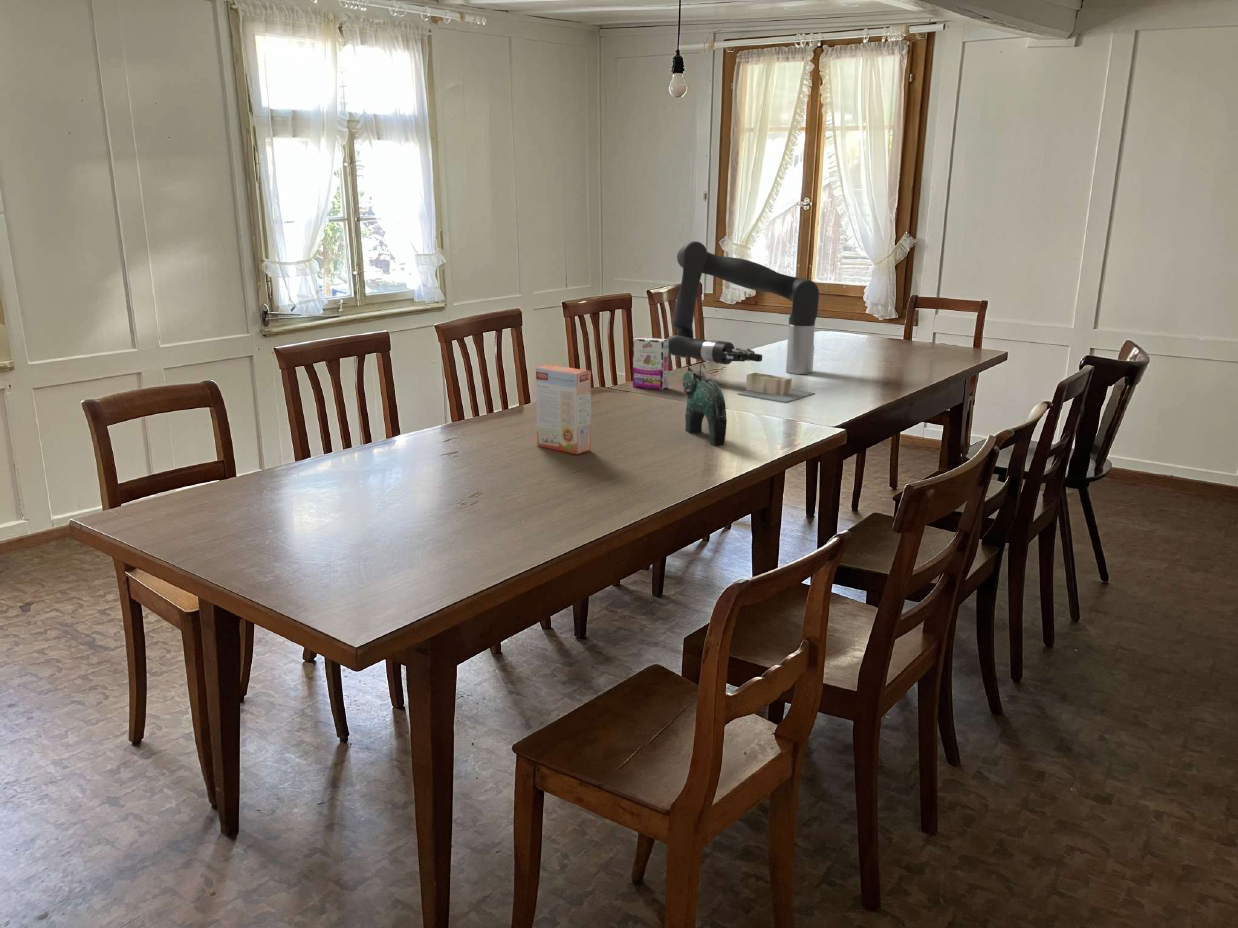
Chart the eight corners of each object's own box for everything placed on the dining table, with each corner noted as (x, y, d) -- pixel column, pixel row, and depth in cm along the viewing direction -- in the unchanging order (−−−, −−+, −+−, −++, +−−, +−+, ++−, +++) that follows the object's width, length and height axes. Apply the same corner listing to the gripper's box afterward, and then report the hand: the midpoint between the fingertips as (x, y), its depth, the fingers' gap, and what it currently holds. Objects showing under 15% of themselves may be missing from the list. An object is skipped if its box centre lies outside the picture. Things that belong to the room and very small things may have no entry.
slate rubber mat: (767, 386, 328) (767, 385, 328) (814, 394, 316) (814, 392, 316) (737, 394, 315) (737, 393, 315) (785, 403, 303) (785, 401, 303)
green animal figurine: (679, 429, 270) (681, 358, 265) (700, 427, 272) (702, 357, 267) (710, 447, 252) (713, 371, 247) (732, 445, 255) (735, 370, 249)
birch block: (755, 372, 322) (791, 378, 313) (754, 387, 324) (790, 393, 315) (746, 374, 319) (783, 380, 310) (746, 389, 320) (782, 396, 311)
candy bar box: (668, 388, 324) (669, 339, 319) (662, 390, 319) (663, 341, 315) (638, 384, 329) (639, 336, 324) (631, 387, 324) (632, 338, 320)
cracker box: (592, 450, 248) (592, 370, 243) (576, 455, 244) (576, 373, 238) (551, 441, 257) (550, 363, 251) (536, 446, 252) (534, 366, 246)
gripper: (706, 343, 322) (750, 349, 311) (729, 338, 331) (772, 344, 320) (705, 365, 324) (749, 372, 313) (728, 360, 333) (771, 366, 322)
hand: (761, 358), depth 317 cm, fingers closed
